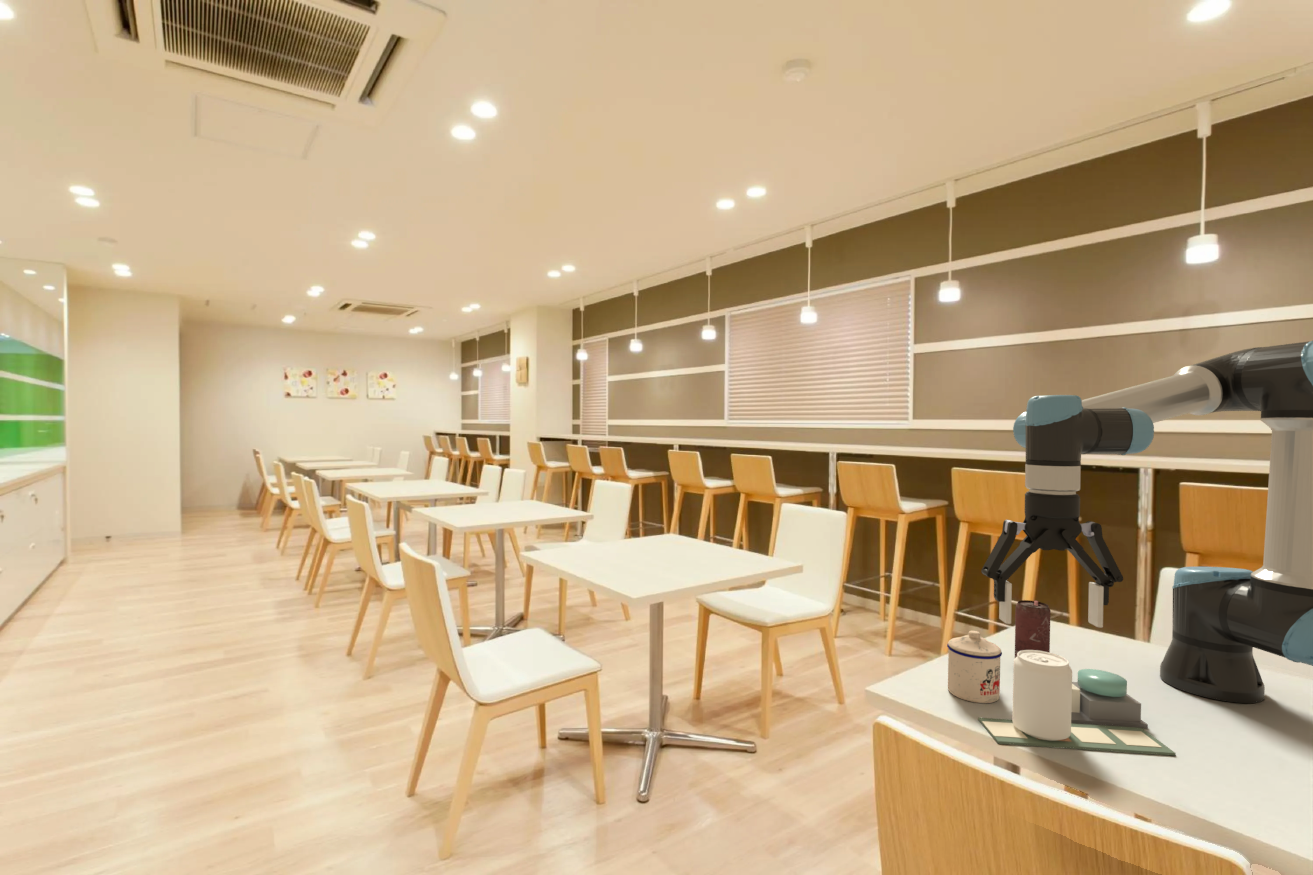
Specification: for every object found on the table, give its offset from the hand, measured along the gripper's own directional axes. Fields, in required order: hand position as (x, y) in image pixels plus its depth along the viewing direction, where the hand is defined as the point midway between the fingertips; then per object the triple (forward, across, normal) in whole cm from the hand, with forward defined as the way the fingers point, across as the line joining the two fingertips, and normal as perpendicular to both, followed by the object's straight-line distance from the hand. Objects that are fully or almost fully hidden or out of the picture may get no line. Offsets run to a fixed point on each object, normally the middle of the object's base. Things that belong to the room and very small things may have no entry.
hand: (1049, 623), depth 101 cm
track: (+18, -4, 0) cm, 19 cm away
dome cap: (+17, -13, -10) cm, 24 cm away
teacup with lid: (+18, +5, -16) cm, 25 cm away
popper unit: (+18, -11, -10) cm, 23 cm away
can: (+18, -10, -28) cm, 35 cm away
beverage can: (+18, +1, 0) cm, 18 cm away
